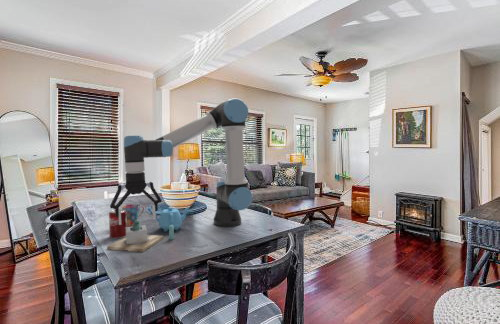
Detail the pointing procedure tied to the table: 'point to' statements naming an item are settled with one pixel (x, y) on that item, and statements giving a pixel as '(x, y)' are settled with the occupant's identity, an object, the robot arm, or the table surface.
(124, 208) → the mug
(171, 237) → the stand rod
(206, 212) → the table surface
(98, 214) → the table surface
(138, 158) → the robot arm
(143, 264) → the table surface
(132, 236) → the white square bowl
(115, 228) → the soda can
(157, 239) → the peg stand
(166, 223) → the teapot
